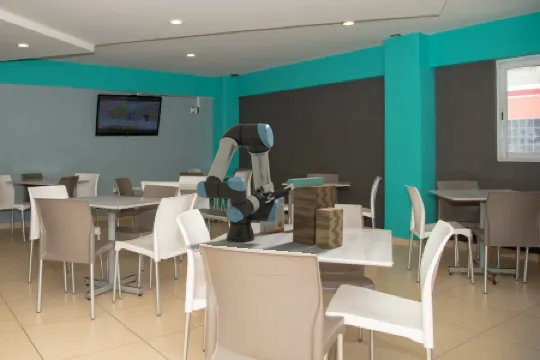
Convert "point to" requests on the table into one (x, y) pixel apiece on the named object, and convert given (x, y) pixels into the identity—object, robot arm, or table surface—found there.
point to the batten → (306, 182)
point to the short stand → (329, 228)
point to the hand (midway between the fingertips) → (282, 185)
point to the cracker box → (275, 225)
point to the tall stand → (309, 210)
